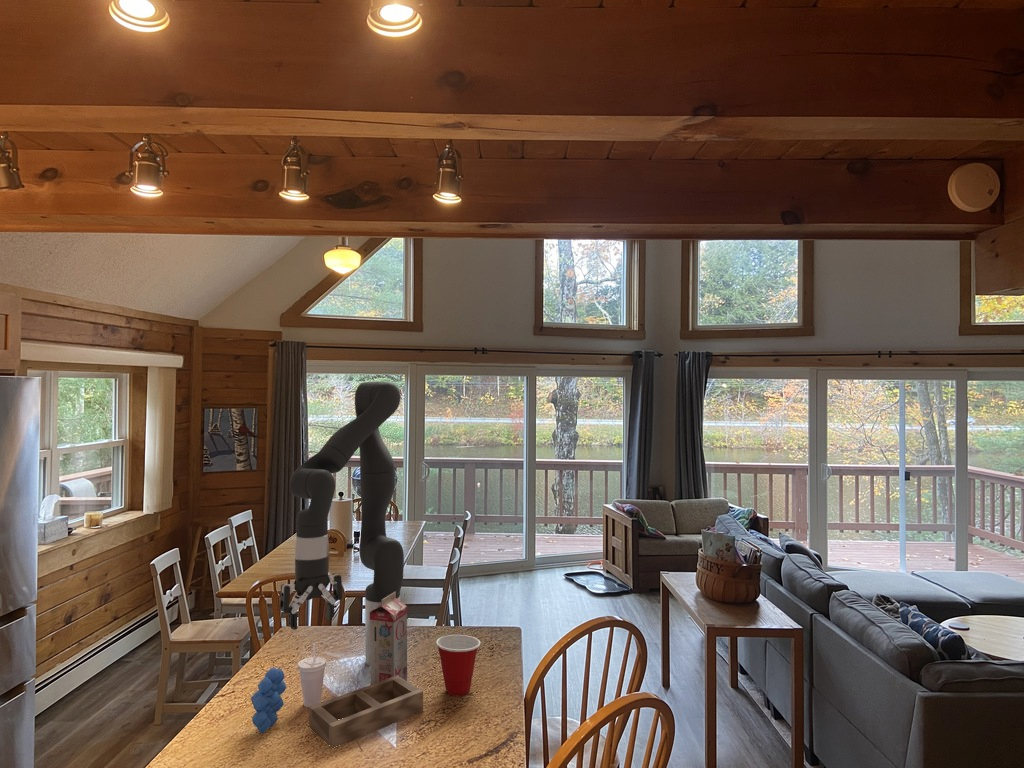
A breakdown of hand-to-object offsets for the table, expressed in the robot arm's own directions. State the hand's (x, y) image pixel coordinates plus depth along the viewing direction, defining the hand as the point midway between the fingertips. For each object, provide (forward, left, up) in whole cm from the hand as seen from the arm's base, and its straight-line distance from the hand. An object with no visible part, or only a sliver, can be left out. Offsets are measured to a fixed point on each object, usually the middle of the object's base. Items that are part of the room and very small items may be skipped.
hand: (311, 624), depth 145 cm
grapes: (+12, +2, -19) cm, 22 cm away
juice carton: (-18, +4, -19) cm, 26 cm away
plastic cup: (-29, +18, -19) cm, 39 cm away
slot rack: (-6, +15, -18) cm, 25 cm away
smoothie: (0, 0, -19) cm, 19 cm away
